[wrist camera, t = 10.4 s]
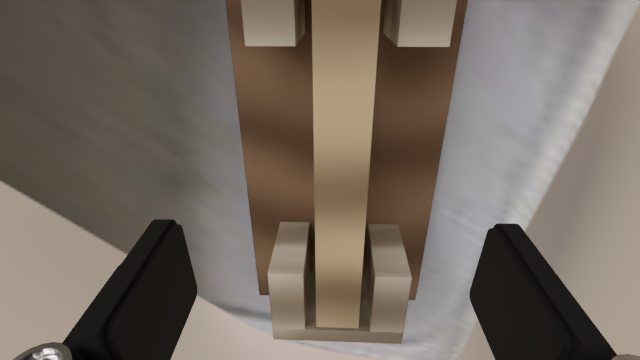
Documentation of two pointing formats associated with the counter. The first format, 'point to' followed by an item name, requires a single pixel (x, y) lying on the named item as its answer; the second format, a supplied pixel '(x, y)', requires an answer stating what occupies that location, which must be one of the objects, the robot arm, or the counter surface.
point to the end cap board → (385, 159)
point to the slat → (342, 150)
